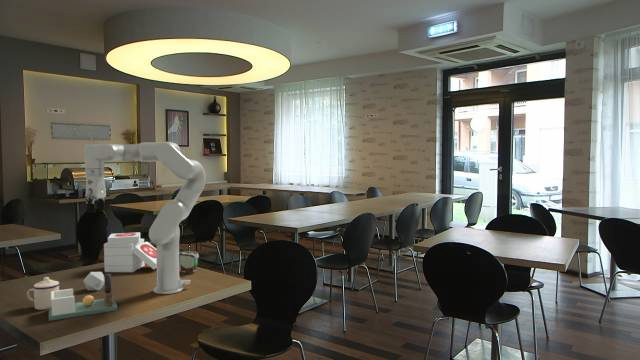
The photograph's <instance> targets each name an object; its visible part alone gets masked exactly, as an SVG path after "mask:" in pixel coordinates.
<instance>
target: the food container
mask: <svg viewBox="0 0 640 360" xmlns="http://www.w3.org/2000/svg"><path fill="white" fill-rule="evenodd" d="M199 258H200V256H199V253H198V251H193V250H188V251H186V250H185V251H179V271H180V272H181V271H185V272H184V273H186V272H190V273H189V274H191V273H195V272H196V273H197V272H198V259H199ZM196 273H195V274H196Z"/></svg>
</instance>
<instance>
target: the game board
mask: <svg viewBox="0 0 640 360" xmlns="http://www.w3.org/2000/svg"><path fill="white" fill-rule="evenodd" d="M75 297H76V296H75V295H74V288H67V289H66V288H65V289H59V290H58V291H51V306H50V307H49V309H48V322H51V321H56V320H64V319H69V318H70V319H71V318H75V317H82V316H89V315H94V314H95V315H96V314H100V313H101V314H102V313H108V312H114V311H118V305H117V303H116V300H115V299H114V297H112V304H113V305H109V306H107V305H106V302H105V300H104V298H100V299H94V303H93V304H92V305H90V306H86V305H84V304H83V301H79V302H78V301H77V302H76V301H75V299H76V298H75Z"/></svg>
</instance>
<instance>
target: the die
mask: <svg viewBox="0 0 640 360" xmlns="http://www.w3.org/2000/svg"><path fill="white" fill-rule="evenodd" d="M104 275H105V274H103V272H102V271H90V272H89V273H88V274H87V276H85V278H84V279H83V280H82V281H83V284H84V286H85V287H86V290H87V291H100V290H101V289H102V288H103V286H104Z"/></svg>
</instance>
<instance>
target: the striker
mask: <svg viewBox="0 0 640 360" xmlns="http://www.w3.org/2000/svg"><path fill="white" fill-rule="evenodd" d="M103 275H104V285H103V286H104V289H103V299H104V300H105V302H106V305H107V306H109V305H113V304H112V298H113V293H112V274H111V273H105V274H103Z"/></svg>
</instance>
